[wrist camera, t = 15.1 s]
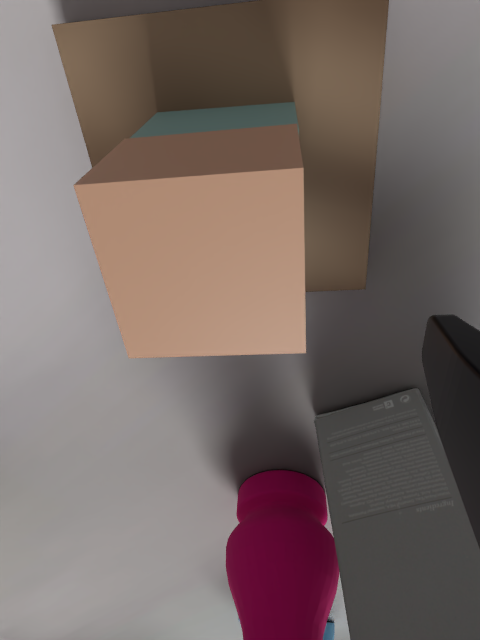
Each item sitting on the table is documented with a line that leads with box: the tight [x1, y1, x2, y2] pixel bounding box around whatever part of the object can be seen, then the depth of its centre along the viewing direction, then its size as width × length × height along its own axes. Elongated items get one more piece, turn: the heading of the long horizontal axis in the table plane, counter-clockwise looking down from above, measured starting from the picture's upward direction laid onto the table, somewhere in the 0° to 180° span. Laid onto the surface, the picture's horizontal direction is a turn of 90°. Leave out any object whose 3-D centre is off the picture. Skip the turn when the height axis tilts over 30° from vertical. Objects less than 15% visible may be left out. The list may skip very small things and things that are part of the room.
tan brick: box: [74, 124, 306, 358], centre depth 12 cm, size 5×5×4 cm
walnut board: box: [52, 0, 389, 292], centre depth 18 cm, size 11×11×1 cm
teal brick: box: [130, 102, 299, 138], centre depth 16 cm, size 5×5×4 cm
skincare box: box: [314, 388, 480, 640], centre depth 21 cm, size 8×7×16 cm
